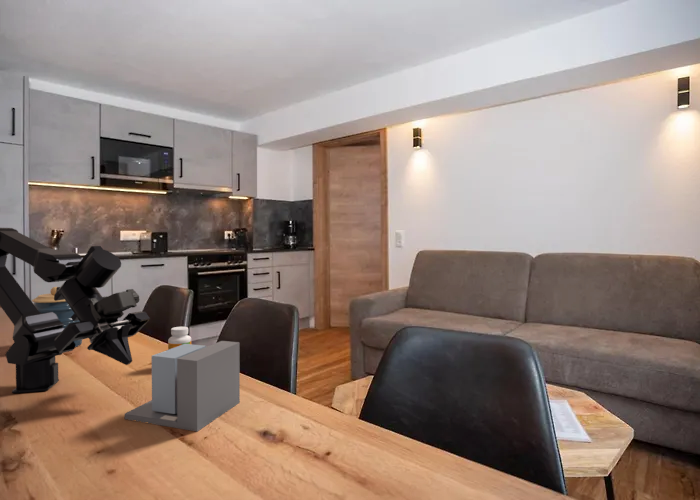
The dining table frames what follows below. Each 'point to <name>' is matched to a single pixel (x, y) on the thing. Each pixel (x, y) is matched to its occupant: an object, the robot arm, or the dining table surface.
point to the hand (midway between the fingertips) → (129, 363)
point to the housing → (200, 388)
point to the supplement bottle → (178, 337)
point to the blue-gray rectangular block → (167, 377)
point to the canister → (56, 309)
